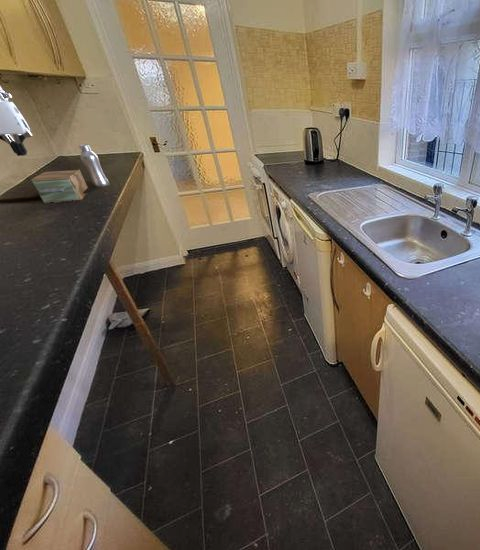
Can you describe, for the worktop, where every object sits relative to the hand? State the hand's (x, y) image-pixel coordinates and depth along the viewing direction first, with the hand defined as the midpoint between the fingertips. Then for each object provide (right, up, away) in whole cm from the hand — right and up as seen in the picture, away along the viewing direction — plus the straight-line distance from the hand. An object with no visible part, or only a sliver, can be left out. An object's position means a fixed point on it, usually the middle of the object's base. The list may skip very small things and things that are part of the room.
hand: (22, 155), depth 108 cm
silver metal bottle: (-5, -1, +39) cm, 39 cm away
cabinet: (-10, -9, +26) cm, 29 cm away
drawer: (-8, -10, +23) cm, 26 cm away
